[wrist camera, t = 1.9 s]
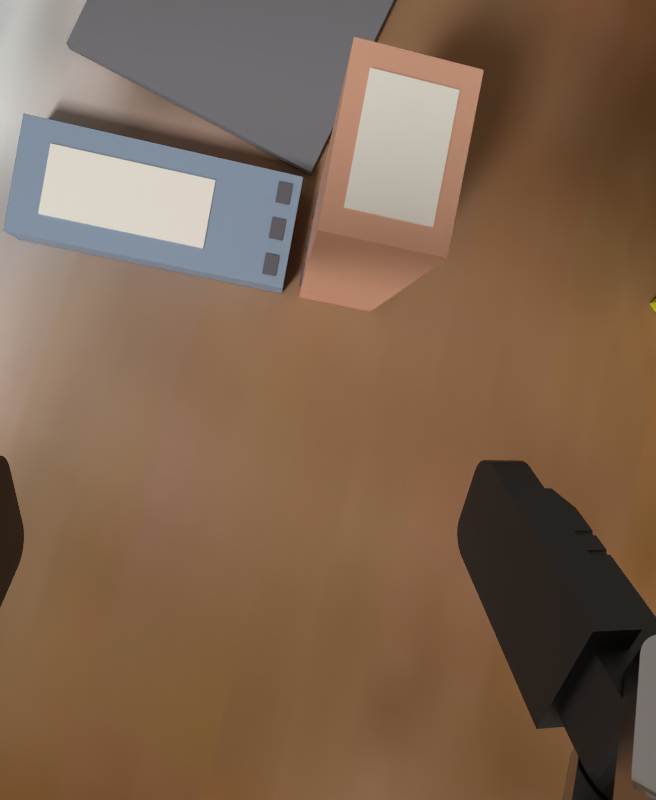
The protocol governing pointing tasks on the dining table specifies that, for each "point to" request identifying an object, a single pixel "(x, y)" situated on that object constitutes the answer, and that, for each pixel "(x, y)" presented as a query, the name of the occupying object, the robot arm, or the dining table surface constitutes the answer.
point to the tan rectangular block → (389, 175)
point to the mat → (237, 61)
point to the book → (653, 304)
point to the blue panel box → (151, 204)
